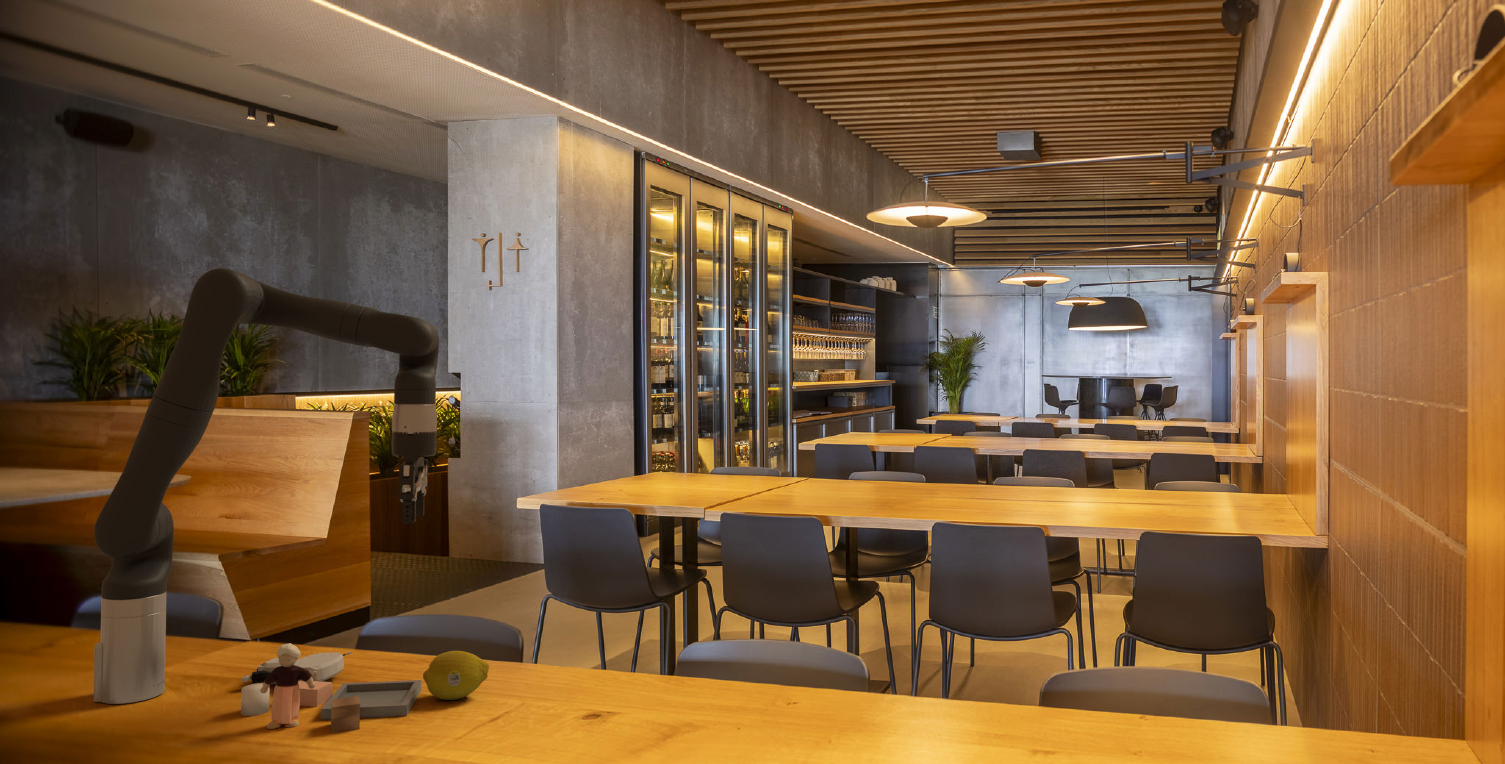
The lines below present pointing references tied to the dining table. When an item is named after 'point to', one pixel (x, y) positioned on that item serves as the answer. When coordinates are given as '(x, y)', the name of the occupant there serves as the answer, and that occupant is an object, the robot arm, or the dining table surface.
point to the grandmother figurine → (286, 687)
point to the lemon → (455, 674)
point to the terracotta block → (315, 693)
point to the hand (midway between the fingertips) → (413, 519)
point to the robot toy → (315, 664)
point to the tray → (378, 698)
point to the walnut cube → (345, 714)
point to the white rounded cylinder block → (254, 700)
